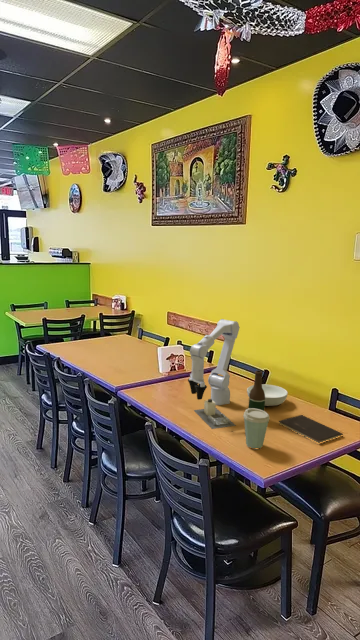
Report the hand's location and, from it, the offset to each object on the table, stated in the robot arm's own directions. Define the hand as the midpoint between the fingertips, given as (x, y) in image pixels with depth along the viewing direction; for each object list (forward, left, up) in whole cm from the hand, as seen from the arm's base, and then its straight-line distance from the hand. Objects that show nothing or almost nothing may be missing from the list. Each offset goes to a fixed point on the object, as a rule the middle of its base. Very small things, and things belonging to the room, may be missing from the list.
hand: (196, 396), depth 201 cm
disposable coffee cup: (-10, +38, -9) cm, 40 cm away
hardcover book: (-42, +32, -10) cm, 54 cm away
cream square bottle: (-5, +4, -8) cm, 10 cm away
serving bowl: (-41, -3, -9) cm, 43 cm away
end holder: (-5, +14, -9) cm, 17 cm away
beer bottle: (-24, +15, -9) cm, 30 cm away
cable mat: (-5, +9, -9) cm, 14 cm away
